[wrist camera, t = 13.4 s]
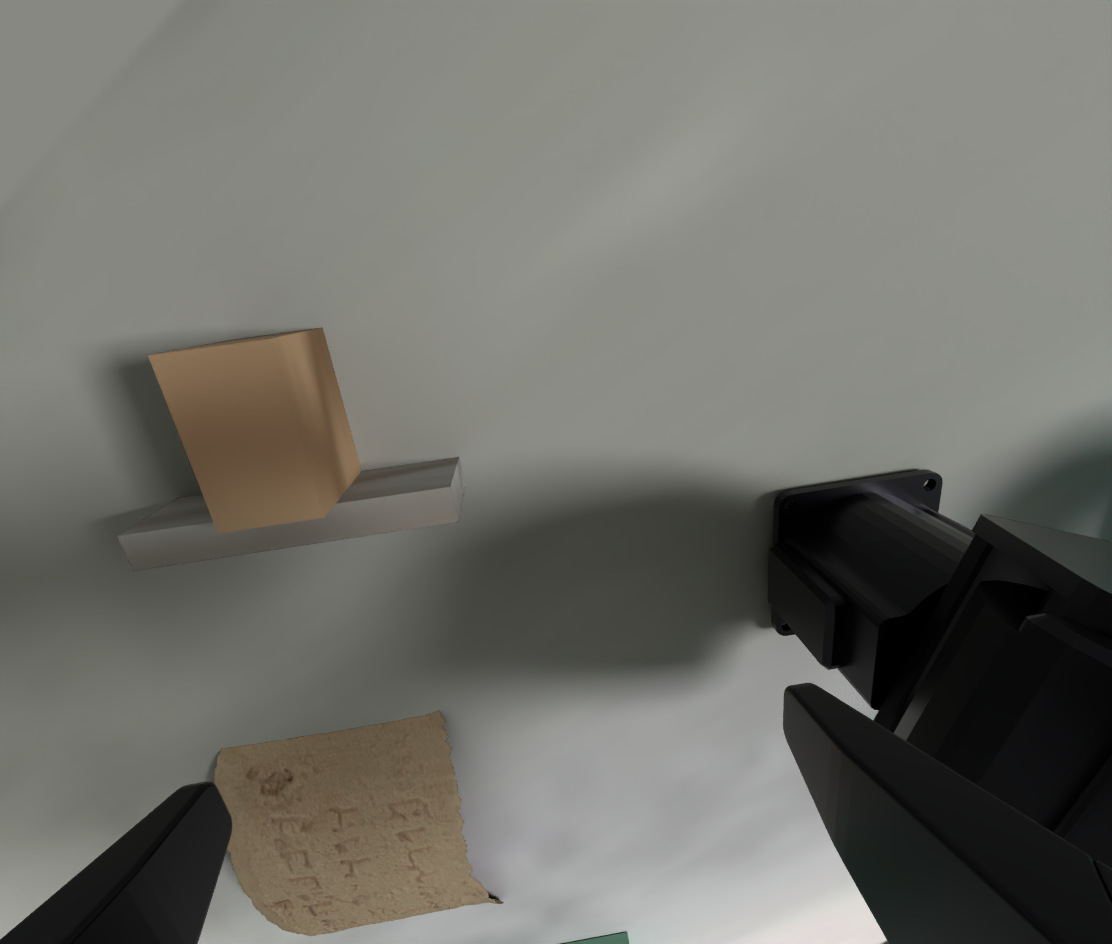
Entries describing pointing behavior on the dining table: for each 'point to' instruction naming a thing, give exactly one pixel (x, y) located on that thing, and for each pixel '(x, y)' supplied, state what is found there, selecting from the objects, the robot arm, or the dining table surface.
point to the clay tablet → (348, 826)
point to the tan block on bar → (276, 458)
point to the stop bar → (606, 940)
